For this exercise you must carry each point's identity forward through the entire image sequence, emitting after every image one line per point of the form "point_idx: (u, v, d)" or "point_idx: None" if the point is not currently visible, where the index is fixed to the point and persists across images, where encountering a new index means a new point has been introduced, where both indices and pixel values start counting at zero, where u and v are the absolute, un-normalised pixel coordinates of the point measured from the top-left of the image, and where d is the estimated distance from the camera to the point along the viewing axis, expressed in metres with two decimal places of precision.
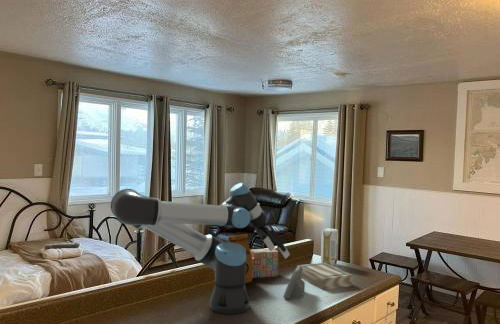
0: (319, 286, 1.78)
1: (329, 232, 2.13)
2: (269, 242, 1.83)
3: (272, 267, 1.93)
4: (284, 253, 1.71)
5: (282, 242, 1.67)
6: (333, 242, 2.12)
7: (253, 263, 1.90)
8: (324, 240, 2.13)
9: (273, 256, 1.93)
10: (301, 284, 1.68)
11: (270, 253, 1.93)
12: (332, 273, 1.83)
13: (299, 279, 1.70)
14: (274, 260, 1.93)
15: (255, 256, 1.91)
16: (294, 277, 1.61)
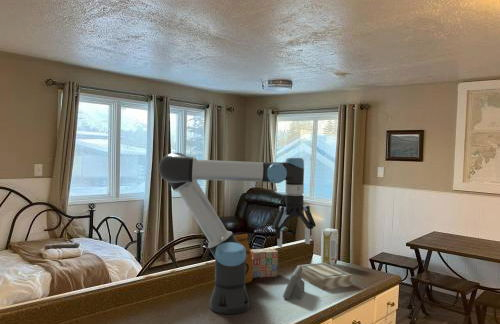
0: (319, 286, 1.78)
1: (329, 232, 2.13)
2: (307, 235, 1.71)
3: (271, 267, 1.93)
4: (278, 240, 1.66)
5: (273, 227, 1.64)
6: (333, 242, 2.12)
7: (253, 263, 1.90)
8: (324, 240, 2.13)
9: (272, 256, 1.93)
10: (301, 284, 1.68)
11: (270, 253, 1.93)
12: (332, 273, 1.83)
13: (299, 279, 1.70)
14: (273, 260, 1.93)
15: (255, 256, 1.90)
16: (294, 277, 1.61)
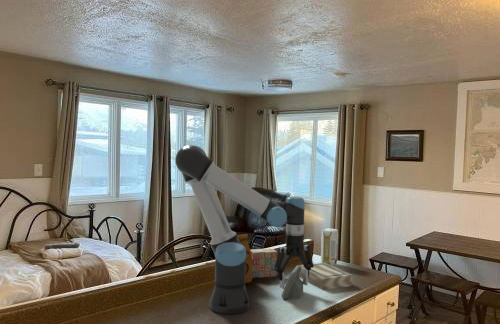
0: (319, 286, 1.78)
1: (329, 232, 2.13)
2: (305, 276, 1.71)
3: (270, 267, 1.93)
4: (280, 282, 1.67)
5: (276, 269, 1.65)
6: (333, 242, 2.12)
7: (252, 263, 1.90)
8: (324, 240, 2.13)
9: (271, 256, 1.93)
10: (299, 284, 1.68)
11: (269, 253, 1.92)
12: (332, 273, 1.83)
13: (297, 279, 1.70)
14: (272, 260, 1.93)
15: (254, 256, 1.90)
16: (292, 277, 1.61)
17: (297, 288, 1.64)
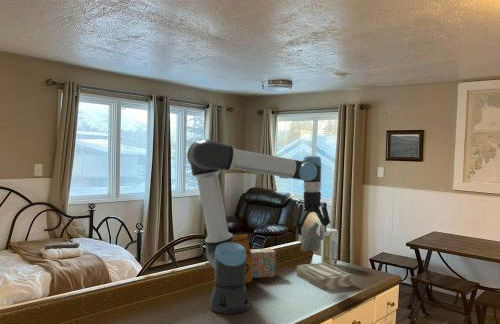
0: (319, 286, 1.78)
1: (329, 232, 2.13)
2: (322, 231, 1.80)
3: (269, 268, 1.93)
4: (299, 236, 1.77)
5: (295, 224, 1.74)
6: (333, 242, 2.12)
7: None
8: (324, 240, 2.13)
9: (270, 256, 1.93)
10: (317, 238, 1.77)
11: (267, 253, 1.92)
12: (332, 273, 1.83)
13: (315, 234, 1.79)
14: (271, 260, 1.93)
15: (253, 256, 1.90)
16: (310, 230, 1.71)
17: (315, 241, 1.73)
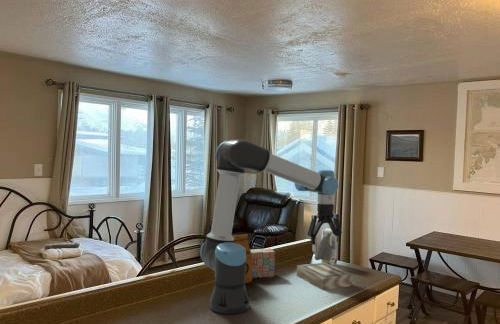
0: (319, 286, 1.78)
1: (329, 232, 2.13)
2: (334, 241, 1.90)
3: (268, 268, 1.92)
4: (313, 246, 1.86)
5: (309, 234, 1.84)
6: None
7: None
8: None
9: (269, 256, 1.92)
10: (330, 247, 1.87)
11: (267, 253, 1.92)
12: (332, 273, 1.83)
13: (327, 243, 1.89)
14: (270, 260, 1.93)
15: (252, 256, 1.90)
16: (324, 240, 1.81)
17: (328, 251, 1.83)
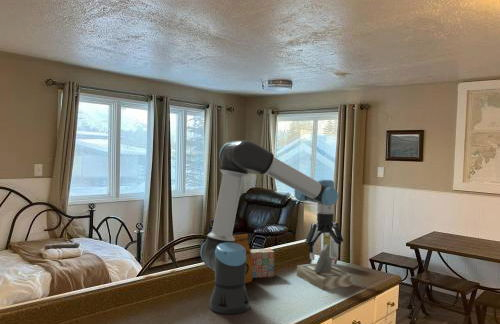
0: (319, 286, 1.78)
1: None
2: (335, 249, 1.91)
3: (267, 268, 1.92)
4: (310, 254, 1.86)
5: (307, 242, 1.84)
6: (333, 242, 2.12)
7: None
8: (324, 240, 2.13)
9: (268, 256, 1.92)
10: (329, 260, 1.87)
11: (266, 253, 1.92)
12: (332, 273, 1.83)
13: (327, 255, 1.89)
14: (269, 260, 1.92)
15: None
16: (324, 252, 1.81)
17: (328, 263, 1.84)
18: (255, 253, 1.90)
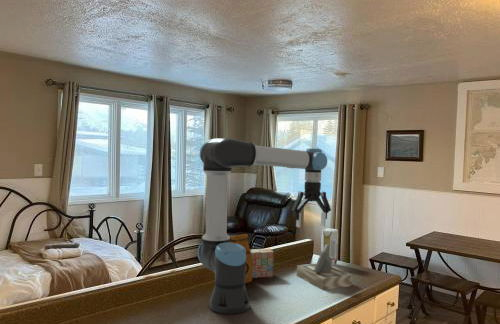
0: (319, 286, 1.78)
1: (329, 232, 2.13)
2: (323, 218, 1.91)
3: (267, 268, 1.92)
4: (297, 222, 1.86)
5: (293, 209, 1.84)
6: (333, 242, 2.12)
7: None
8: (324, 240, 2.13)
9: (268, 256, 1.92)
10: (329, 260, 1.87)
11: (265, 253, 1.92)
12: (332, 273, 1.83)
13: (327, 255, 1.89)
14: (269, 260, 1.92)
15: None
16: (324, 253, 1.81)
17: (328, 263, 1.84)
18: (254, 253, 1.90)
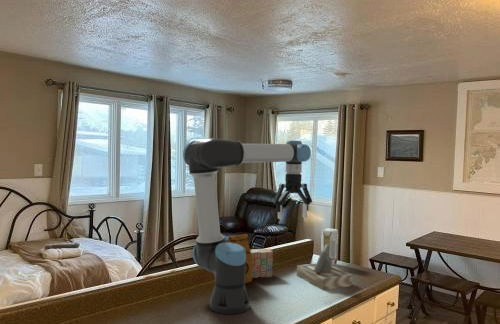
0: (319, 286, 1.78)
1: (329, 232, 2.13)
2: (304, 209, 1.92)
3: (266, 268, 1.92)
4: (278, 213, 1.87)
5: (274, 201, 1.85)
6: (333, 242, 2.12)
7: None
8: (324, 240, 2.13)
9: (267, 256, 1.92)
10: (329, 260, 1.87)
11: (264, 253, 1.92)
12: (332, 273, 1.83)
13: (327, 255, 1.89)
14: (268, 260, 1.92)
15: None
16: (324, 253, 1.81)
17: (328, 263, 1.84)
18: (254, 253, 1.90)
